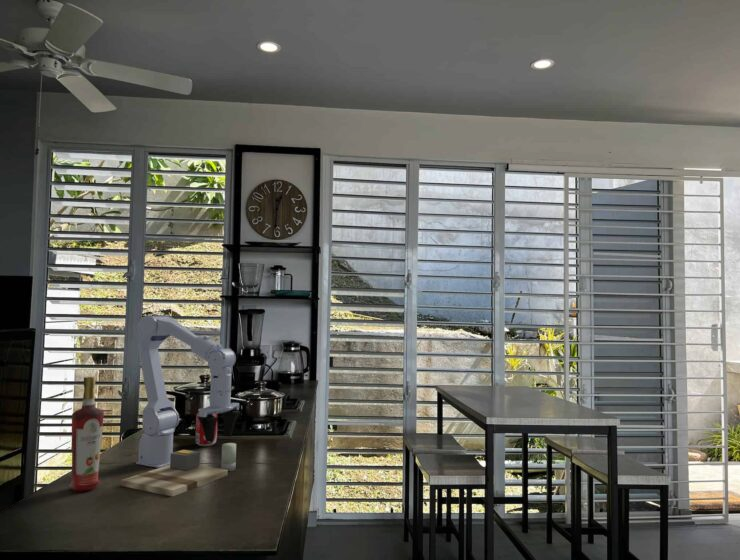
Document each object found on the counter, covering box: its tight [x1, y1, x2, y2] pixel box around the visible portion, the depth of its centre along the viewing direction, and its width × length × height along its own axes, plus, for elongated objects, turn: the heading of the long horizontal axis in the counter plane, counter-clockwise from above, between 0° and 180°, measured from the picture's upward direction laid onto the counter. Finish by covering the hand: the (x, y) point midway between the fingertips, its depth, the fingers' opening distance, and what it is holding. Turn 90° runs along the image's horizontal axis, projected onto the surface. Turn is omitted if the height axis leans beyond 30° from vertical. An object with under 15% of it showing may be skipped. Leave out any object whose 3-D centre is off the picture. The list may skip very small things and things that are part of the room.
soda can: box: [195, 407, 218, 447], centre depth 186 cm, size 7×7×12 cm
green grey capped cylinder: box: [220, 442, 237, 472], centre depth 156 cm, size 4×4×7 cm
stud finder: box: [170, 449, 201, 471], centre depth 151 cm, size 6×5×4 cm
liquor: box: [68, 376, 105, 493], centre depth 138 cm, size 7×7×28 cm
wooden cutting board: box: [120, 464, 229, 498], centre depth 145 cm, size 18×20×2 cm
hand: (218, 438), depth 155 cm, fingers open, 7 cm apart
